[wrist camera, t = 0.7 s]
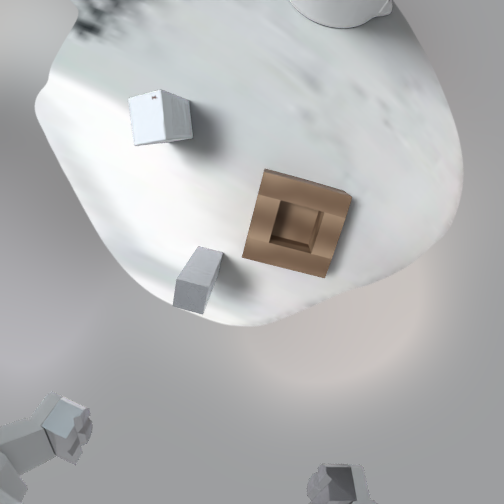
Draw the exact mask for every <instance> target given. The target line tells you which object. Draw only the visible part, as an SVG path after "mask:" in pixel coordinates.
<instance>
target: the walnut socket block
mask: <svg viewBox="0 0 504 504" xmlns="http://www.w3.org/2000/svg"><path fill="white" fill-rule="evenodd" d="M351 199H352V197H351V196H350V195H349V194H347V193H346V192H345V191H342V190H339V189H336V188H332V187H329V186H326V185H322V184H319V183H316V182H312V181H309V180H305V179H302V178H298V177H294V176H291V175H287V174H283V173H280V172H276V171H272V170H268V169H264V173H263V177H262V181H261V185H260V189H259V192H258V196H257V200H256V204H255V208H254V212H253V216H252V220H251V224H250V228H249V232H248V236H247V239H246V243H245V247H244V251H243V255H242V258H246V259H250V260H254V261H258V262H262V263H266V264H270V265H274V266H278V267H282V268H286V269H290V270H294V271H298V272H302V273H306V274H310V275H314V276H318V277H322V278H325V276H326V274H327V271H328V268H329V265H330V262H331V260H332V257H333V254H334V251H335V248H336V245H337V242H338V239H339V236H340V233H341V230H342V227H343V224H344V221H345V218H346V215H347V212H348V209H349V206H350V203H351Z"/></svg>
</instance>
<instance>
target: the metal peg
mask: <svg viewBox="0 0 504 504" xmlns="http://www.w3.org/2000/svg"><path fill="white" fill-rule="evenodd" d="M222 256H223V252H219V251H215V250H211V249H207V248H203V247H200V246H198V247H197V249H196V250H195V252H194V253H193V255H192V256H191V258H190V259H189V261H188V262H187V264H186V265H185V267H184V268H183V270H182V272H181V273H180V275H179V276H178V278H177V280H176V287H175V294H174V301H173V306H174V307H177V308H181V309H185V310H188V311H192V312H196V313H199V314H203V313H204V310H205V308H206V305H207V303H208V300H209V297H210V295H211V292H212V290H213V287H214V284H215V282H216V279H217V277H218V273H219V269H220V264H221V260H222Z"/></svg>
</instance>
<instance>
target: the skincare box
mask: <svg viewBox="0 0 504 504" xmlns="http://www.w3.org/2000/svg"><path fill="white" fill-rule="evenodd" d="M128 100H129V109H130V117H131V125H132V132H133V139H134V146H140V145H148V144H157V143H167V142H174V141H180V140H186V139H192V138H193V132H192V124H191V115H190V107H189V100H187V99H185V98H182V97H180V96H177V95H174V94H172V93H169V92H166V91H164V90H161V89H159V90H156V91H152V92H148V93H145V94H141V95H137V96H134V97H131V98H129V99H128Z"/></svg>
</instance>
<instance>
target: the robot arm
mask: <svg viewBox="0 0 504 504" xmlns="http://www.w3.org/2000/svg"><path fill="white" fill-rule="evenodd" d="M290 2H291V3H292V5H293V6H294V7H295V8H296V9H297V10H298V11H299V12H300V13H301V14H303V15H304V16H305V17H307V18H309V19H310V20H312V21H314V22H317V23H319V24H322V25H325V26H329V27H335V28H350V27H356V26H359V25H362V24H364V23H366V22H367V21H369V20H370V19H372V18H374V17H377V16H385V15H389V14H390V13H391V11H392V0H290ZM89 416H90V410H89V408H87V407H85V406H83V405H80V404H78V403H76V402H74V401H72V400H70V399H67V398H65V397H64V396H62V395H60V394H57V393H55V392H53V391H51V392H50V393H48V395H47V396H46V397H45V398H44V400H43V401H42V402H41V404H40V405H39V406H38V408H37V409H36V410H35V412H34V413H33V414H32V416H31V417H30V418H29V420H28V419H27V418H24V419H21V420H18V421H15V422H12V423H9V424H6V425H3V426H1V427H0V504H23V503H22V502H21V501H22V499H23V497H24V495H25V494H26V492H27V490H28V488H27V485H26V484H25V483H24V482H23V480H22V479H21V478H20V475H22V474H24V473H25V472H28V471H30V470H32V469H33V468H35V467H37V466H39V465H41V464H43V463H45V462H47V461H49V460H51V459H52V458H54V457H55V456H58V457H60V458H62V459H64V460H66V461H68V462H70V463H72V464H75V465H76V463H77V462H78V460H79V458H80V456H81V454H82V448H81V446H82V445H84V444H87V442H88V441H89V439H90V436H91V433H92V421H91V420H90V419H89V418H88V417H89ZM307 496H308V497H309V498H310V499H311V502H310V503H309V504H377V503H376V502H375V501H374V500H370V495H369V490H368V486H367V481H366V476H365V472H364V467H363V466H362V465H352V464H349V465H348V464H321V465H320V466H319V467H318V472H316V473H314V474H313V475H312V476H311V478H309V482H308V485H307Z"/></svg>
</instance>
